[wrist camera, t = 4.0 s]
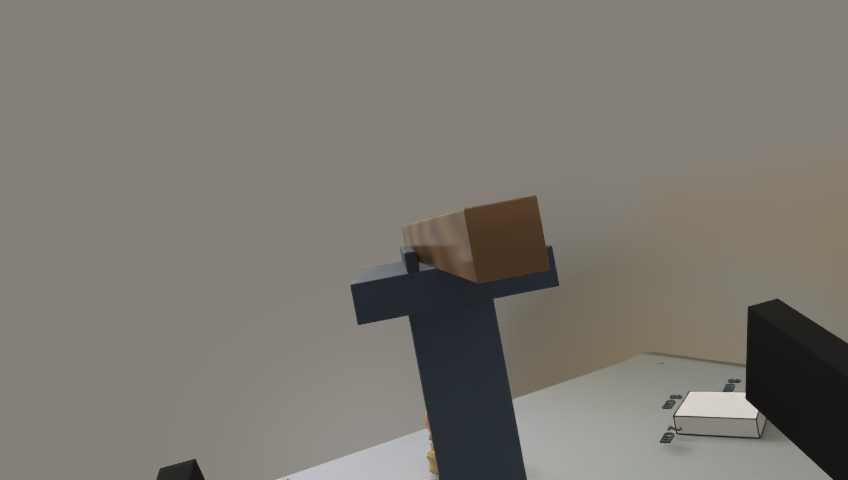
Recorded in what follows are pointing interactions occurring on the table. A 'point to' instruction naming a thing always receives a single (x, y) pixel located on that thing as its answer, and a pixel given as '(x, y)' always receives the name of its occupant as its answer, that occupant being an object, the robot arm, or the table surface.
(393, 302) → the lectern stand
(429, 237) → the stirring stick
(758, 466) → the table surface
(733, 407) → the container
